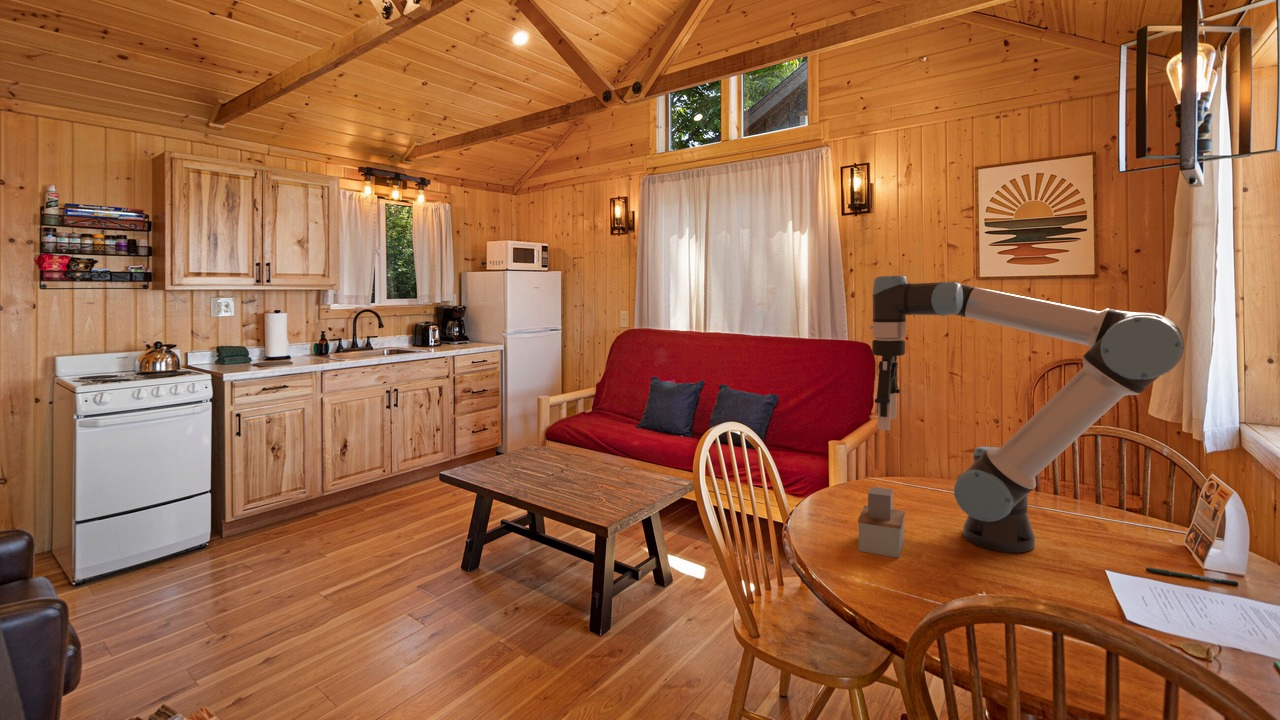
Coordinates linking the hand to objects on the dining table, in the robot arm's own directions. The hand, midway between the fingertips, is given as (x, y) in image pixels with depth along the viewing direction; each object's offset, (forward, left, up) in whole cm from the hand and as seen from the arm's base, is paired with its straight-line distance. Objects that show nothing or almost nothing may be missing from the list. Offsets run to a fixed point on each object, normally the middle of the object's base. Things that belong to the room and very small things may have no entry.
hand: (887, 424), depth 151 cm
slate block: (0, +8, -21) cm, 22 cm away
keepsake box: (0, +8, -29) cm, 30 cm away
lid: (0, +8, -22) cm, 23 cm away
